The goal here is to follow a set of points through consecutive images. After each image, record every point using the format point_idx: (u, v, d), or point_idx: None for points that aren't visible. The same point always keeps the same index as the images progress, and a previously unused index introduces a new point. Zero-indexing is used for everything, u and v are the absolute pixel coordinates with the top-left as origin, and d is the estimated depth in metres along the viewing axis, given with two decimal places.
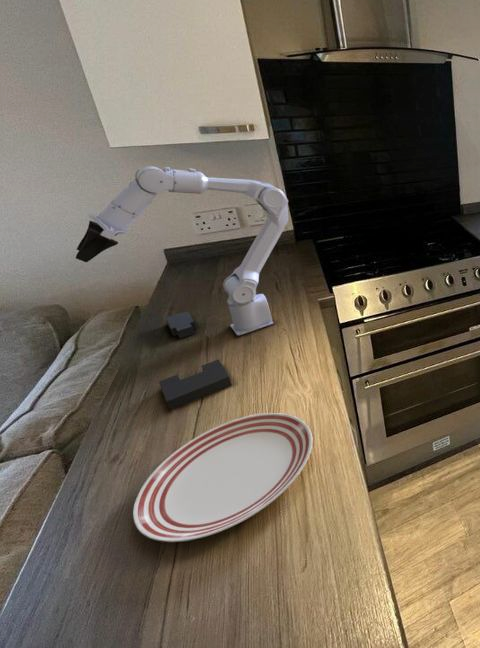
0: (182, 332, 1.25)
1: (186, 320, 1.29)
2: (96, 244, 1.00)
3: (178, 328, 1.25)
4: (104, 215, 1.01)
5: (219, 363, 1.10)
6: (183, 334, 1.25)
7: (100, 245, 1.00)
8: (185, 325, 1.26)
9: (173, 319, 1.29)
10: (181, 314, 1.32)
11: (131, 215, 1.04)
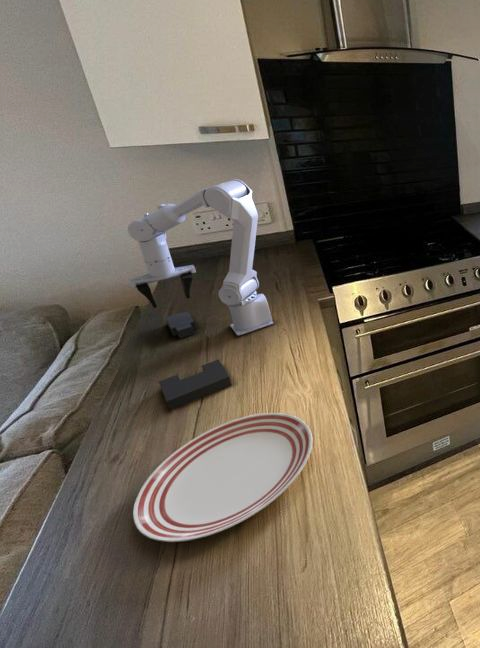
0: (182, 332, 1.25)
1: (186, 320, 1.29)
2: None
3: (178, 328, 1.25)
4: None
5: (219, 363, 1.10)
6: (183, 334, 1.25)
7: None
8: (185, 325, 1.26)
9: (173, 319, 1.29)
10: (181, 314, 1.32)
11: (147, 263, 1.20)
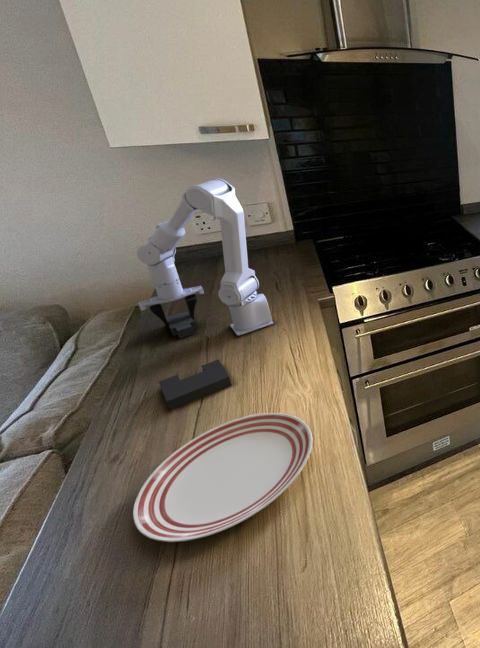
0: (182, 332, 1.25)
1: (186, 321, 1.29)
2: None
3: (178, 328, 1.25)
4: None
5: (219, 363, 1.10)
6: (183, 334, 1.25)
7: None
8: (185, 325, 1.26)
9: (173, 319, 1.29)
10: (181, 314, 1.32)
11: (156, 286, 1.22)
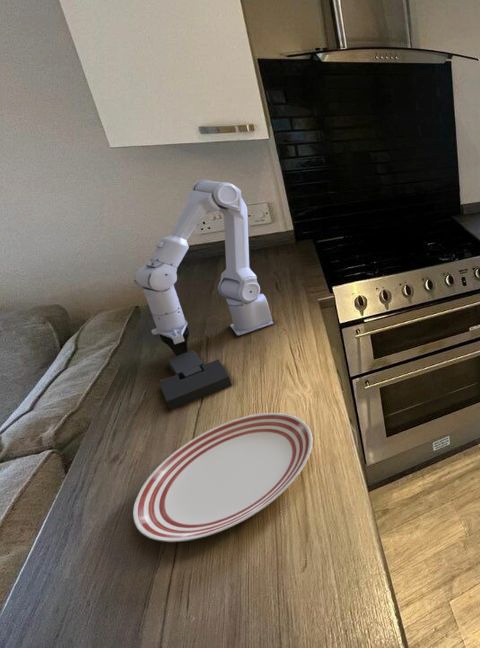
0: None
1: (194, 362, 1.10)
2: None
3: (186, 373, 1.06)
4: (160, 326, 1.08)
5: (219, 363, 1.10)
6: None
7: None
8: (193, 368, 1.08)
9: (177, 361, 1.10)
10: (186, 354, 1.13)
11: (176, 312, 1.09)
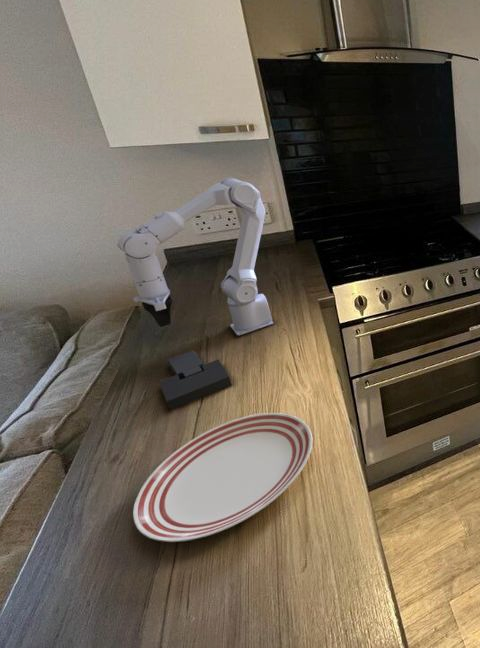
0: None
1: (194, 363, 1.10)
2: (160, 310, 1.12)
3: (186, 373, 1.06)
4: (142, 294, 1.08)
5: (219, 363, 1.10)
6: None
7: (163, 309, 1.12)
8: (194, 369, 1.08)
9: (178, 361, 1.10)
10: (186, 354, 1.13)
11: (158, 280, 1.09)
